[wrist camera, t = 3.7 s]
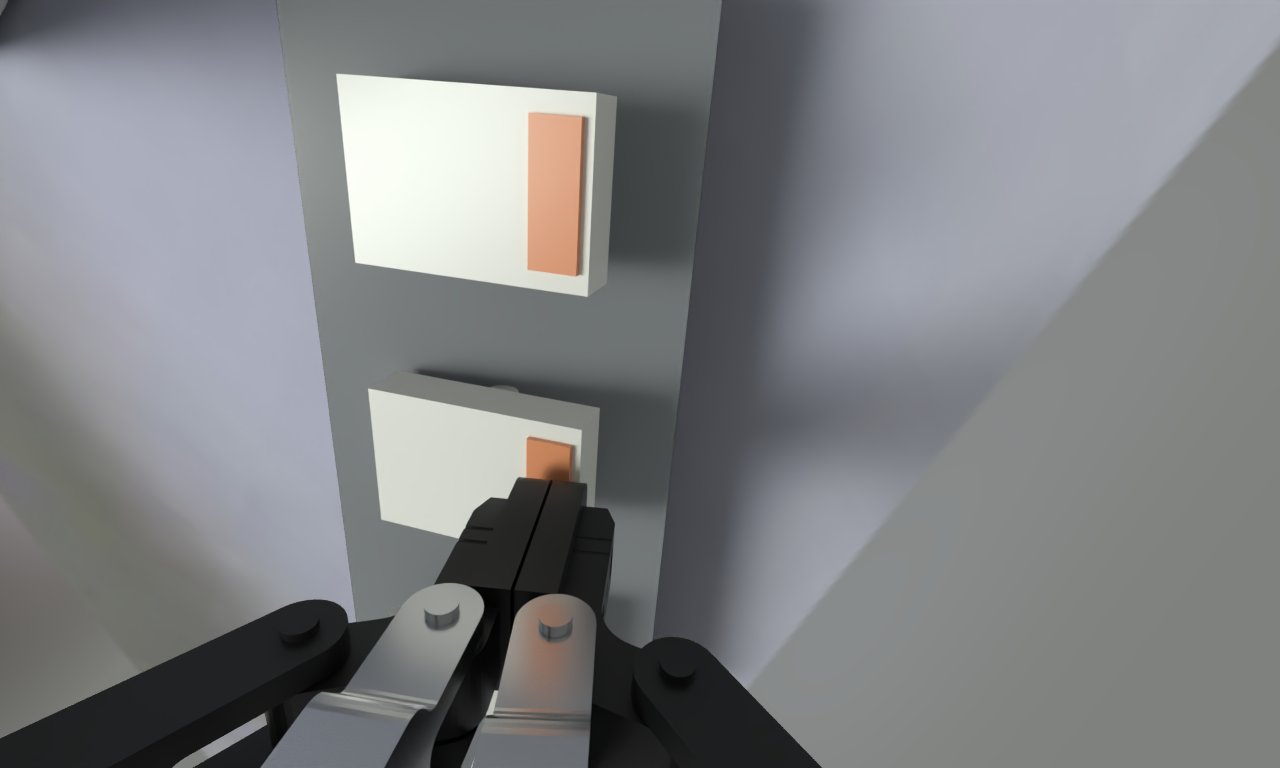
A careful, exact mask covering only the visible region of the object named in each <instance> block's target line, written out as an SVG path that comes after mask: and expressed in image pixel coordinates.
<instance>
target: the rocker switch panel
mask: <svg viewBox="0 0 1280 768" xmlns="http://www.w3.org/2000/svg"><path fill="white" fill-rule="evenodd" d="M721 5H722V0H276V6H277V13H278V21H279V29H280V36H281V44H282V52H283V60H284V67H285V75H286V83H287V90H288V98H289V106H290V114H291V121H292V129H293V137H294V145H295V152H296V160H297V168H298V175H299V183H300V191H301V199H302V206H303V214H304V222H305V229H306V237H307V245H308V253H309V260H310V268H311V276H312V283H313V291H314V299H315V307H316V314H317V322H318V330H319V337H320V345H321V353H322V361H323V368H324V376H325V384H326V392H327V399H328V407H329V415H330V422H331V430H332V438H333V446H334V453H335V461H336V469H337V476H338V484H339V492H340V500H341V507H342V515H343V523H344V530H345V538H346V546H347V554H348V561H349V569H350V577H351V585H352V592H353V600H354V608H355V615H356V622H361V621H368V620H375V619H382V618H387V617H389V615H390V612H391V608H392V607H402V605H403V604H404V603H405V602H406V600H407V599H409V598H410V597H411V596H412V595H413V594H415V593H416V592H418V591H420V590H422V589H424V588H427V587H429V586H433V585H434V584H435V582H436V580H437V578H438V576H439V574H440V572H441V571H442V569H443V567H444V565H445V563H446V561H447V559H448V558H449V556H450V554H451V552H452V550H453V548H454V546H455V544H456V543H457V542H458V541H459V538H455V537H451V536H446V535H442V534H438V533H434V532H430V531H426V530H422V529H418V528H414V527H410V526H406V525H402V524H397V523H393V522H389V521H385V520H381V511H380V501H379V492H378V482H377V472H376V462H375V452H374V442H373V432H372V422H371V413H370V403H369V393H368V388H370V387H371V386H373V385H375V384H377V383H379V382H380V381H382V380H384V379H386V378H388V377H389V376H391V375H393V374H395V373H397V372H398V371H404V372H409V373H414V374H420V375H425V376H431V377H436V378H441V379H447V380H452V381H457V382H463V383H468V384H474V385H479V386H484V387H492V386H498V385H507V386H512V387H515V388H517V389H518V391H519V393H522V394H527V395H533V396H538V397H544V398H549V399H554V400H560V401H565V402H570V403H576V404H581V405H587V406H592V407H597V408H600V414H599V432H598V450H597V468H596V486H595V504H594V507H598V508H608V510H609V512H610V514H611V516H612V518H613V520H614V522H615V531H614V545H613V558H612V572H611V583H610V590H609V596H608V603H607V610H606V616H605V624H606V626H607V627H608V628H609V630H610V631H611V632H612V633H613V634H614V635H616V636H617V637H618V638H620V639H621V640H623V641H625V642H627V643H629V644H631V645H634V646H636V647H639V648H643V647H644V646H645V645H646V644H648V643H650V642H651V641H652V640H653V631H654V621H655V612H656V603H657V594H658V585H659V575H660V566H661V557H662V548H663V539H664V529H665V520H666V511H667V502H668V493H669V483H670V474H671V465H672V456H673V447H674V438H675V428H676V419H677V410H678V401H679V392H680V382H681V373H682V364H683V355H684V346H685V336H686V327H687V318H688V309H689V300H690V290H691V281H692V272H693V263H694V254H695V244H696V235H697V226H698V217H699V208H700V198H701V189H702V180H703V171H704V162H705V153H706V143H707V134H708V125H709V116H710V107H711V97H712V88H713V79H714V70H715V61H716V51H717V42H718V33H719V24H720V15H721ZM336 74H348V75H362V76H375V77H389V78H403V79H416V80H430V81H444V82H457V83H471V84H485V85H498V86H512V87H526V88H539V89H553V90H567V91H580V92H594V93H601V94H606V95H612V96H617V108H616V126H615V144H614V162H613V180H612V198H611V216H610V234H609V252H608V270H607V284H606V285H604V286H603V287H601V288H600V289H598V290H597V291H595V292H594V293H592V294H591V295H590V296H588V297H585V296H579V295H572V294H565V293H558V292H551V291H544V290H538V289H531V288H524V287H517V286H510V285H504V284H497V283H490V282H483V281H476V280H470V279H463V278H456V277H449V276H442V275H435V274H429V273H422V272H415V271H408V270H401V269H395V268H388V267H381V266H374V265H367V264H360V263H355V255H354V245H353V235H352V225H351V215H350V205H349V195H348V185H347V176H346V166H345V156H344V146H343V136H342V126H341V116H340V106H339V97H338V87H337V77H336Z"/></svg>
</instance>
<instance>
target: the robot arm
mask: <svg viewBox="0 0 1280 768" xmlns="http://www.w3.org/2000/svg"><path fill="white" fill-rule="evenodd" d="M614 531H615V522H614V520H613V518H612V516H611V514H610V512H609V510H608V508H598V507H587V483H578V482H568V481H558V480H554V481H553V483H552V480H546V479H536V478H526V477H518V478H517V480H516V482H515V484H514V486H513V488H512V490H511V492H510V495H509V497H508V499H504V498H494V497H490V498H489V499H488V500H486V501H485V502H484V503H483V504H481V505H480V506H479V507H477V508H476V509H475V510H474V511H473V513H472V515H471V516H470V518H469V520H468V522H467V524H466V527H465V529H464V530H463V531H462V533H461V535H460V537H459V541H458V542H457V543H456V544H455V546H454V548H453V550H452V552H451V554H450V556H449V558H448V559H447V561H446V563H445V565H444V567H443V569H442V571H441V572H440V574H439V576H438V578H437V580H436V582H435V584H434V585H433V586H429V587H427V588H424V589H422V590H420V591H418V592H416V593H415V594H413V595H412V596H411V597H410V598H409V599H407V600H406V602H405V603H404V604H403V605H402V607H401V608H400V610H399V611H398V613H397V614H396V615H394V616H391V617H387V618H382V619H375V620H368V621H361V622H354V623H348V617H347V614H346V612H345V610H344V609H343V608H342V607H341V606H340V605H338V604H336V603H334V602H331V601H327V600H305V601H300V602H296V603H293V604H290V605H287V606H285V607H283V608H280V609H278V610H276V611H274V612H272V613H270V614H267V615H265V616H263V617H261V618H259V619H257V620H255V621H252V622H250V623H248V624H246V625H244V626H242V627H239V628H237V629H235V630H233V631H231V632H229V633H227V634H224V635H222V636H220V637H218V638H216V639H214V640H211V641H209V642H207V643H205V644H203V645H201V646H199V647H196V648H194V649H192V650H190V651H188V652H186V653H183V654H181V655H179V656H177V657H175V658H173V659H171V660H168V661H166V662H164V663H162V664H160V665H158V666H155V667H153V668H151V669H149V670H147V671H145V672H143V673H140V674H138V675H136V676H134V677H132V678H130V679H127V680H126V681H123V682H121V683H119V684H117V685H115V686H112V687H110V688H108V689H106V690H104V691H102V692H100V693H97V694H95V695H93V696H91V697H89V698H86V699H85V700H82V701H80V702H78V703H76V704H74V705H71V706H69V707H67V708H65V709H63V710H61V711H59V712H57V713H54V714H52V715H50V716H48V717H46V718H43V719H41V720H39V721H37V722H35V723H33V724H30V725H28V726H26V727H24V728H22V729H20V730H18V731H16V732H14V733H11V734H9V735H7V736H5V737H2V738H0V768H172V767H173V766H174V765H175V764H177V763H178V762H179V761H180V760H182V759H184V758H185V757H187V756H188V755H190V754H192V753H194V752H196V751H197V750H199V749H201V748H203V747H205V746H206V745H208V744H210V743H212V742H213V741H215V740H217V739H219V738H220V737H222V736H224V735H226V734H228V733H229V732H231V731H233V730H235V729H236V728H238V727H240V726H242V725H243V724H245V723H247V722H249V721H250V720H252V719H254V718H256V717H258V716H259V715H261V714H263V713H265V717H266V721H267V725H266V726H264V727H262V728H261V729H259V730H257V731H255V732H254V733H252V734H250V735H249V736H247V737H245V738H243V739H242V740H240V741H238V742H236V743H235V744H233V745H231V746H230V747H228V748H226V749H224V750H223V751H221V752H219V753H218V754H216V755H214V756H212V757H211V758H209V759H207V760H205V761H204V762H202V763H200V764H199V765H197V766H195V767H193V768H470V767H471V765H472V762H473V760H474V763H473V767H472V768H822V767H821V766H820V765H819V764H818V763H817V762H816V761H815V760H814V759H813V758H812V757H811V756H810V755H809V754H808V753H807V752H806V751H805V750H804V749H803V748H802V747H801V746H800V745H799V744H798V743H797V742H796V741H795V739H794V738H793V737H792V736H791V735H790V734H789V733H788V732H787V731H786V730H785V729H784V728H783V727H782V726H781V725H780V724H779V723H778V722H777V721H776V720H775V719H774V718H773V717H772V716H771V715H770V714H769V713H768V712H767V711H766V710H765V709H764V708H763V707H762V706H761V704H759V703H758V701H757V700H756V699H755V698H754V697H753V696H752V695H751V694H750V693H749V692H748V691H747V690H746V689H745V688H744V687H743V686H742V685H741V684H740V683H739V682H738V681H737V680H736V679H735V678H734V677H733V676H732V675H731V674H730V673H729V671H728V670H727V669H726V668H725V667H724V666H723V665H722V664H721V663H720V662H719V661H718V660H717V659H716V658H715V657H714V656H713V655H712V654H711V653H710V652H709V651H708V650H707V649H705V648H704V647H703V646H701V645H700V644H698V643H695V642H693V641H691V640H688V639H684V638H679V637H665V638H660V639H656V640H654V641H651V642H650V643H648V644H646V645H645V646H644V647H643V648H639V647H636V646H634V645H631V644H629V643H627V642H625V641H623V640H621V639H620V638H618V637H617V636H616V635H614V634H613V633H612V632H611V631H610V630H609V628H608V627H607V626H606V624H605V616H606V610H607V603H608V596H609V590H610V583H611V572H612V558H613V545H614ZM494 690H495V691H498V694H497V699H496V703H495V708H494V711H493V715H486V713H487V711H488V708H489V705H490V702H491V699H492V696H493V693H494ZM474 757H475V759H474Z"/></svg>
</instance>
